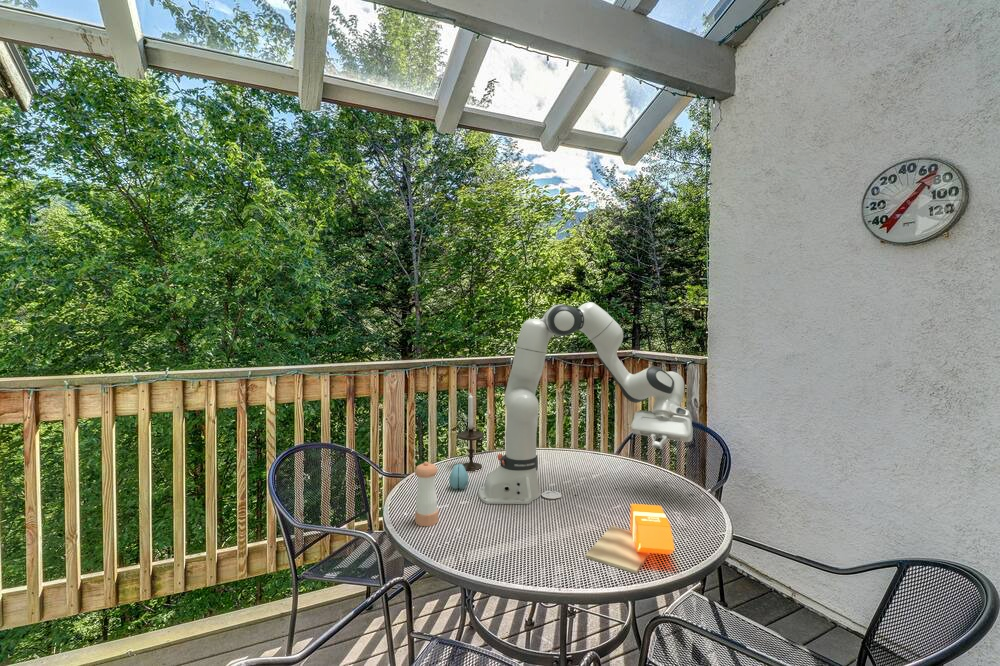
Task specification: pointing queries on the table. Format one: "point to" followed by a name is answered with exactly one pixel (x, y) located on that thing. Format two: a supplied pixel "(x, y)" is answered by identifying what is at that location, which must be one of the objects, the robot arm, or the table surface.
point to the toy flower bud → (458, 477)
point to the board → (618, 550)
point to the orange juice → (651, 529)
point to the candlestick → (471, 437)
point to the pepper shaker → (426, 495)
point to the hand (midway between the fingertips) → (656, 447)
